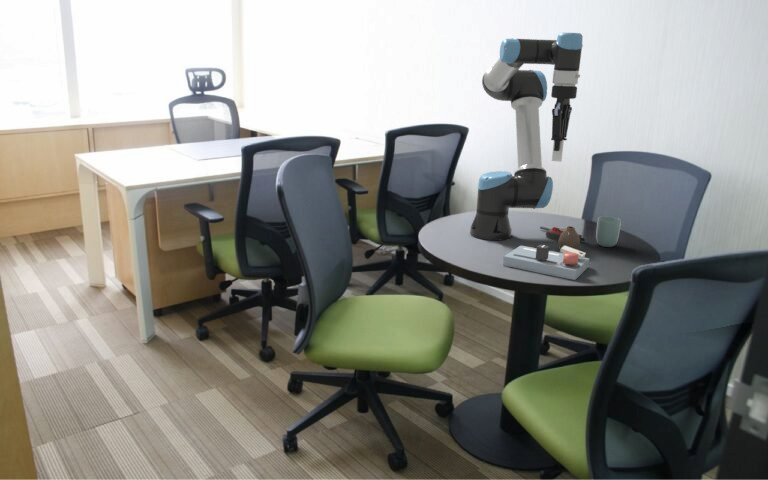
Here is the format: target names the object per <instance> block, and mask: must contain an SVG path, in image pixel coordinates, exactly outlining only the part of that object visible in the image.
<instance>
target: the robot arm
mask: <svg viewBox="0 0 768 480" xmlns="http://www.w3.org/2000/svg"><path fill="white" fill-rule="evenodd" d="M583 46H584V45H583V34H581V33H580V32H559V33H558V34H557V38H556V39H537V38H536V39H533V38H530V39H529V38H516V37H514V38H504V39H503V40H502V41H501V43H500V47H499V57H498V59H497V61H496V62H495V63H494V64H493V66H490V67H489V68H487V69H486V71H485V72H484V74H483V75H482V79H481V84H482V88H483V90H484V91H485V93H486V94H487V95H488V96H489V97H491V98H493V99H495V100H497V101H505V102H510V106H511V108H512V109H513V110H514V111H515V126H516V129H515V130H516V147H517V148H516V151H517V170H515V171H514V174H513V175H512V173H511V172H510V171H506V170H505V171H502V170H500V171H497V170H496V171H489V172H485V173H482V175H480V176H479V179H478V185H477V198H476V202H477V203H476V213H475V216H474V219H473V221H472V223H471V226H470V229H469V230H470V232H469V234H470V235H471V236H472V237H475V238H478V239H481V240H482V239H483V240H487V241H488V240H489V241H503V240H507V239H511V237H512V226H511V223H510V219H509V210H510V209H533V210H535V209H545V208H546V207H547V206H548V205H549V203H550V201H551V198H552V193H553V191H554V190H553V189H554V188H553V187H554V181H553V178H552V177H551V176H549V175H547V170H546V169H545V168H544V167H543V166H542V147H541V145H542V144H541V130H540V129H541V128H540V126H541V124H540V108H541V106H543V102H545V101H546V99H547V95H548V91H547V90H548V82H547V79H546V75H545V74H544V73H543V72H542V71H541V70H534V69H528V70H527V69H520V68H521V67H523V65H524V64H529V65H532V64H533V65H552V66H553V67H554V68H553V73H552V84H553V85H552V87H551V95H550V96H551V97H552V98H554V99H556V101H555V104H554V108H552V109H551V114H552V119H551V120H552V122H551V125H552V126H551V127H552V128H551V129H552V130H551V138H550V140H551V141H553V144H552V145H553V147H552V156H551V157H552V158H551V161H552V162H558V163H559V162H562V159H563V150H564V142H565V141H567V140H568V139H567V136H568V129H569V123H570V119H571V113H572V111H573V108H572V106H571V100H574V99H576V98H577V93H578V87H577V86H576V85H578V82H579V78H581V74H580V66H581V58H582V49H583Z"/></svg>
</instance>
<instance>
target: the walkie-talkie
mask: <svg viewBox="0 0 768 480" xmlns="http://www.w3.org/2000/svg"><path fill="white" fill-rule="evenodd" d="M566 228H567V227H566ZM566 228H565V227H562V226H554V227H552V228H549V227H545V226H540V227H539V229H540V230H543V231H546V232H545V238H546V239H549V240H553V241H557V242H559V237H560V235H561V234H562V232H563V231H564V230H566ZM577 234H578V233H577ZM578 236H579V240H580V243H581V242H583V241H586V238H584V237H583V235H582V234H578Z"/></svg>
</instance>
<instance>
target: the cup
mask: <svg viewBox="0 0 768 480" xmlns="http://www.w3.org/2000/svg"><path fill="white" fill-rule="evenodd" d="M621 224H622V220H621V219H620V218H619V217H615V216H609V215H601V216H598V218H597V224H596V233H595V238H596V243H597V244H598V245H599V246H600V247H605V248H613V247H614V246H616V245H617V243H618V240H619V235H620V231H621Z"/></svg>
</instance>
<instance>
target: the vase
mask: <svg viewBox="0 0 768 480" xmlns="http://www.w3.org/2000/svg"><path fill="white" fill-rule="evenodd" d="M580 243H581V242H580V240H579V236H578V233H577V231H576V229H575V227H574V226H571V225H570V226H566V230H564V231H563V232H562V234H561V235H560V237H559V241H558V248H559V250H561V248H562V247H563V246H568V247H571V248H573V249H576V250H579V247H580Z"/></svg>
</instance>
